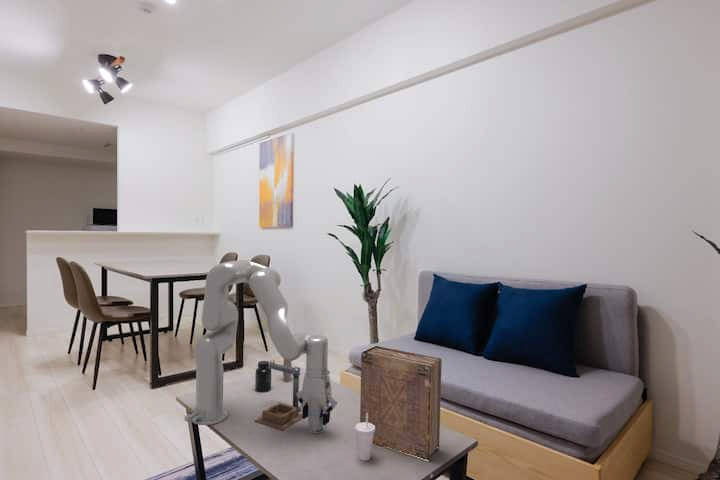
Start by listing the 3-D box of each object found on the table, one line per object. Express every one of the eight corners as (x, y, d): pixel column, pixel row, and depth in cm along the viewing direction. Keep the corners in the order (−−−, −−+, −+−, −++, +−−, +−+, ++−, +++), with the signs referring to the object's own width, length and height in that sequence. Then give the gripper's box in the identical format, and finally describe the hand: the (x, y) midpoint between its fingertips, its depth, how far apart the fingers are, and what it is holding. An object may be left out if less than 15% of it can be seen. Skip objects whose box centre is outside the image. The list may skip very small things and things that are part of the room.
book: (439, 449, 134) (442, 358, 133) (428, 462, 126) (431, 366, 125) (373, 428, 147) (374, 345, 146) (359, 438, 139) (361, 351, 139)
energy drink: (325, 428, 146) (326, 395, 146) (319, 435, 141) (319, 400, 141) (312, 425, 148) (312, 392, 148) (305, 432, 143) (305, 398, 143)
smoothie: (368, 465, 124) (369, 419, 123) (350, 458, 127) (351, 414, 127) (378, 455, 129) (379, 411, 129) (361, 449, 133) (362, 406, 132)
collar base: (282, 431, 144) (283, 392, 143) (254, 421, 150) (255, 384, 150) (312, 412, 159) (313, 377, 159) (286, 404, 165) (286, 370, 165)
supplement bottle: (269, 385, 185) (269, 359, 184) (272, 391, 178) (272, 364, 178) (254, 387, 182) (254, 360, 182) (256, 393, 176) (256, 365, 175)
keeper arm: (301, 374, 160) (301, 366, 160) (296, 376, 158) (297, 368, 158) (272, 367, 168) (272, 359, 168) (267, 369, 165) (267, 361, 165)
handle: (289, 383, 188) (289, 351, 187) (278, 380, 191) (279, 348, 191) (295, 380, 192) (296, 348, 192) (285, 377, 195) (285, 346, 195)
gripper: (343, 373, 143) (342, 422, 144) (303, 364, 152) (302, 410, 152) (331, 379, 137) (330, 431, 137) (290, 370, 145) (289, 418, 145)
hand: (315, 420), depth 144 cm, fingers open, 8 cm apart
